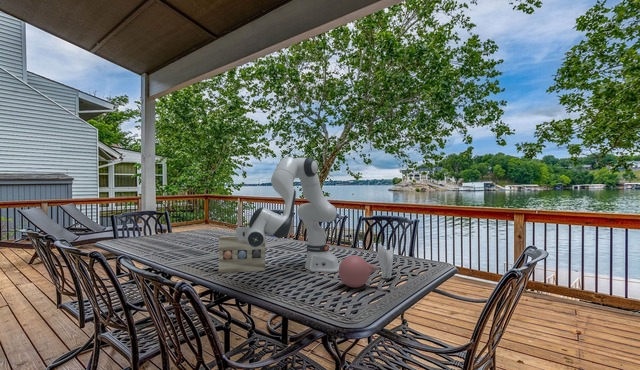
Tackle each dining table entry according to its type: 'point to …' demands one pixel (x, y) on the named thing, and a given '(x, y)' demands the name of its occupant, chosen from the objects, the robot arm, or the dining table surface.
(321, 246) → the robot arm
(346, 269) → the pink bulb with spout
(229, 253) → the terracotta button
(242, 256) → the slate button
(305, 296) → the dining table surface
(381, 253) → the shell sculpture
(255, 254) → the charcoal button
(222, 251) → the button panel
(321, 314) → the dining table surface
